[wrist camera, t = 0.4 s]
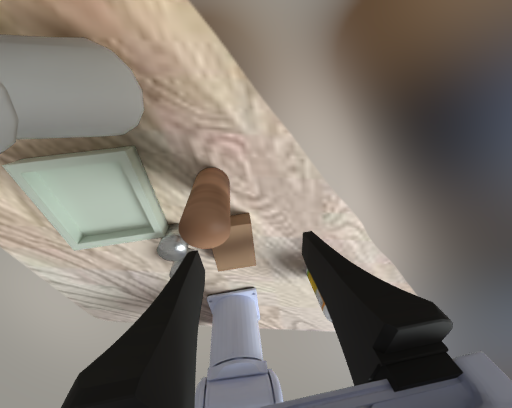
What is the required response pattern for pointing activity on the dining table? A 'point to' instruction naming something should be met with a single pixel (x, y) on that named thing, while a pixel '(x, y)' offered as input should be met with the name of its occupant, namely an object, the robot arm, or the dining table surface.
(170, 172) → the dining table surface
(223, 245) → the wooden block
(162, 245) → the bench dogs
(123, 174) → the tray
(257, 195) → the dining table surface
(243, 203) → the dining table surface
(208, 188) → the dowel
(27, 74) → the salt shaker
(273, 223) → the dining table surface
